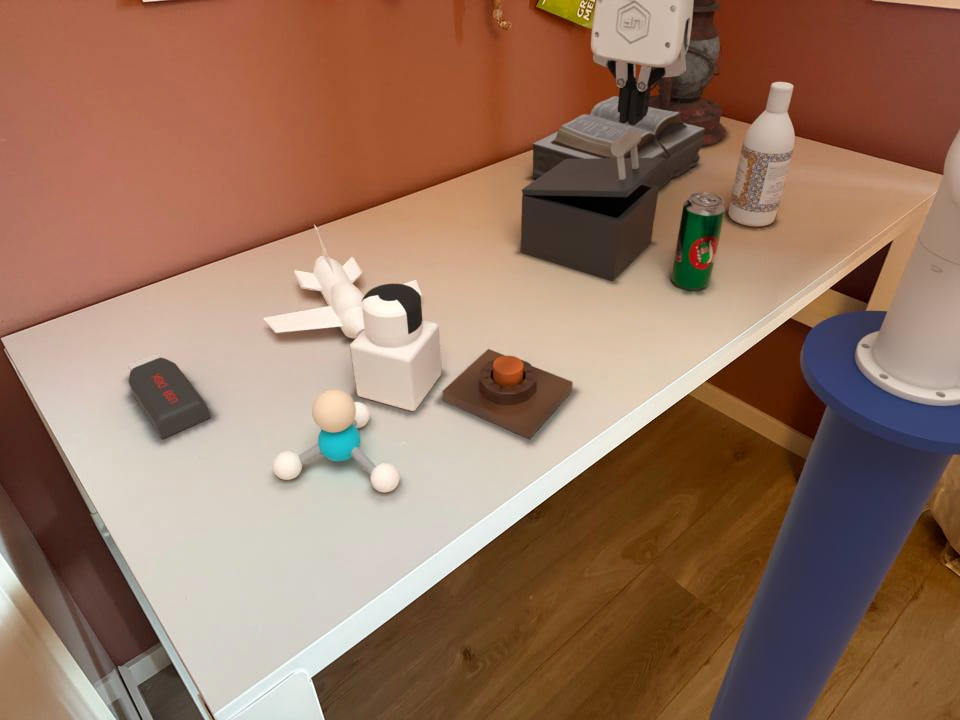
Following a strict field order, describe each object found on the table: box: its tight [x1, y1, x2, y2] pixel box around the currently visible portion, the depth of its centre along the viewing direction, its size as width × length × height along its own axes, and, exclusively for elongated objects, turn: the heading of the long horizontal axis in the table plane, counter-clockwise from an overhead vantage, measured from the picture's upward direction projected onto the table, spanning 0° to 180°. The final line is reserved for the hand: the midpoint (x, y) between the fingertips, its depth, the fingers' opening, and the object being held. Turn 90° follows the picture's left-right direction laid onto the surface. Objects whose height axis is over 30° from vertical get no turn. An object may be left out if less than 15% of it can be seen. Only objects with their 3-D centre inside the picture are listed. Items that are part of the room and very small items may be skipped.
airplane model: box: [262, 224, 423, 339], centre depth 90 cm, size 20×20×8 cm
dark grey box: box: [520, 183, 660, 282], centre depth 101 cm, size 15×13×9 cm
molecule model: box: [272, 388, 401, 493], centre depth 68 cm, size 12×12×9 cm
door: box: [521, 130, 666, 197], centre depth 96 cm, size 15×13×6 cm
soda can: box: [670, 191, 726, 291], centre depth 92 cm, size 5×5×12 cm
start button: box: [493, 355, 523, 386], centre depth 76 cm, size 3×3×2 cm
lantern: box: [636, 0, 726, 148], centre depth 131 cm, size 19×19×30 cm
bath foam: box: [728, 81, 796, 228], centre depth 104 cm, size 7×7×20 cm
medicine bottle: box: [349, 283, 442, 412], centre depth 76 cm, size 7×7×12 cm
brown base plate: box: [442, 348, 573, 440], centre depth 77 cm, size 11×9×3 cm
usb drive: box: [127, 353, 211, 440], centre depth 77 cm, size 5×12×3 cm, turn 39°
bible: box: [531, 95, 705, 190], centre depth 122 cm, size 23×27×10 cm
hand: (631, 120), depth 85 cm, fingers closed
